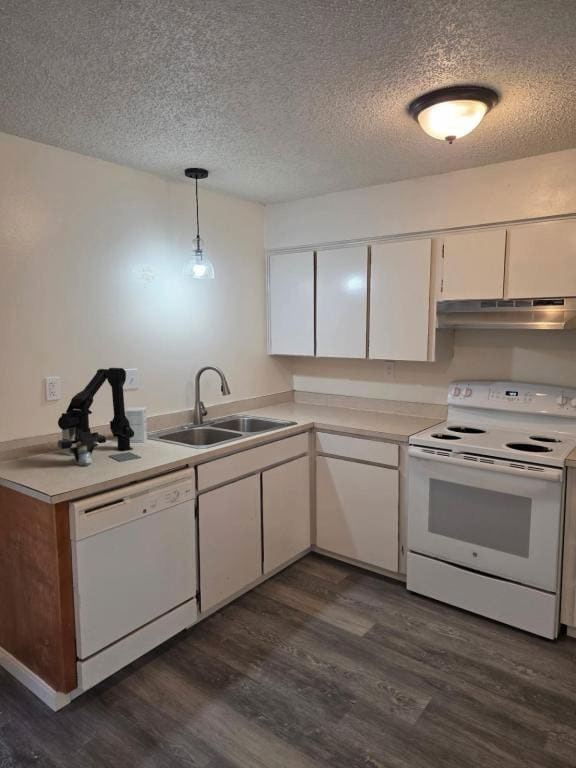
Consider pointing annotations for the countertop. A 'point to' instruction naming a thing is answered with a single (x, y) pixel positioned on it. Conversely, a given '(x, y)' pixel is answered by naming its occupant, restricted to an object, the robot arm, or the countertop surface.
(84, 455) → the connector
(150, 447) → the countertop surface
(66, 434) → the coffee box
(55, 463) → the countertop surface
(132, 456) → the mat
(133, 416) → the supplement box
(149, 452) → the countertop surface
